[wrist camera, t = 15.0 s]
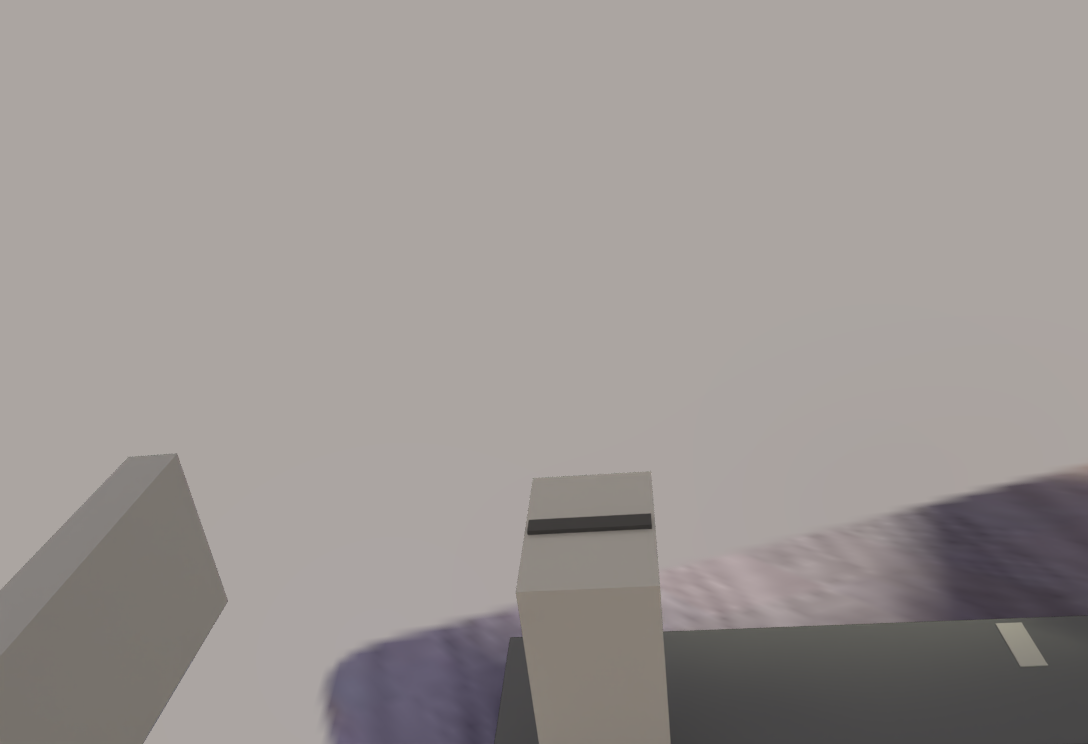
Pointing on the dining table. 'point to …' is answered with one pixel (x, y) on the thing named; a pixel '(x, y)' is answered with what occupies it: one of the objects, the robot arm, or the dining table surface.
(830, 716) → the console
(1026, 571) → the dining table surface
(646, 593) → the fader knob
